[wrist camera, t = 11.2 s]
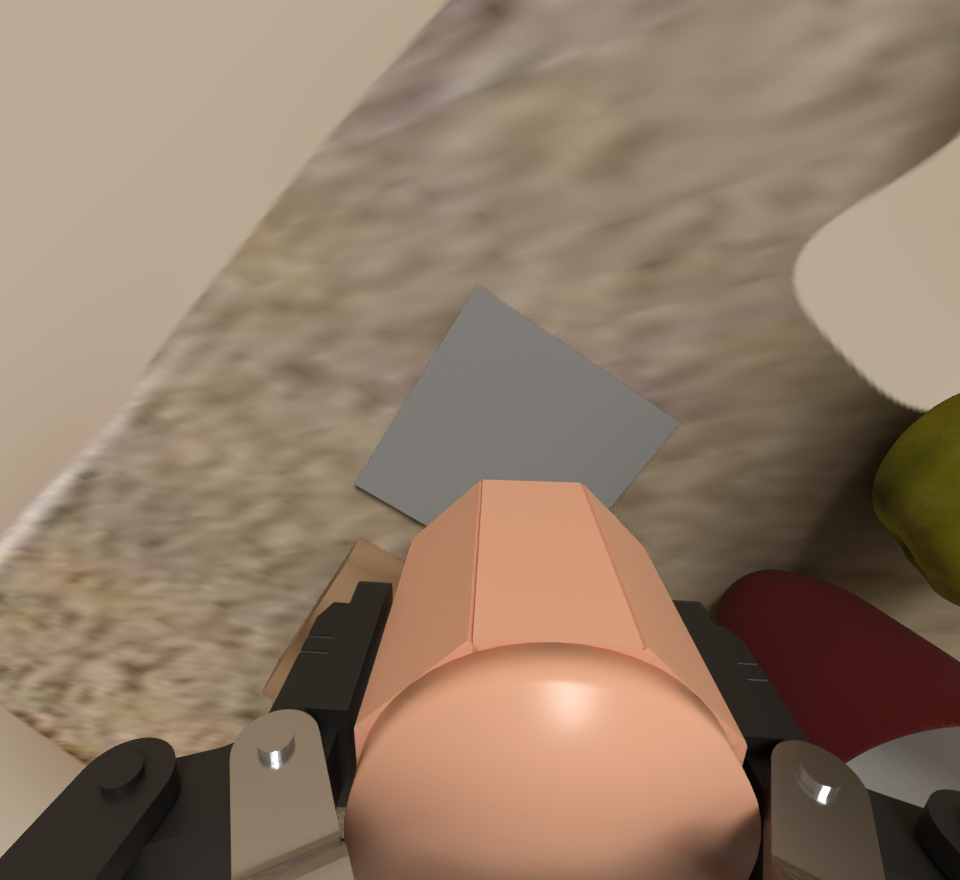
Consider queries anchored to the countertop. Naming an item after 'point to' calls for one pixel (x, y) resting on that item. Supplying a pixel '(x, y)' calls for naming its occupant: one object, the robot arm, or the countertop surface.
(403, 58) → the countertop surface
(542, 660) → the cap
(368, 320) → the countertop surface
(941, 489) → the apple
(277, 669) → the post block
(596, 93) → the countertop surface
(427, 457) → the mat
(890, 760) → the mug
